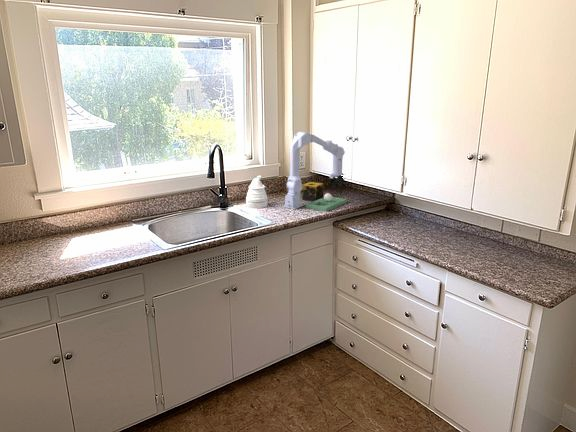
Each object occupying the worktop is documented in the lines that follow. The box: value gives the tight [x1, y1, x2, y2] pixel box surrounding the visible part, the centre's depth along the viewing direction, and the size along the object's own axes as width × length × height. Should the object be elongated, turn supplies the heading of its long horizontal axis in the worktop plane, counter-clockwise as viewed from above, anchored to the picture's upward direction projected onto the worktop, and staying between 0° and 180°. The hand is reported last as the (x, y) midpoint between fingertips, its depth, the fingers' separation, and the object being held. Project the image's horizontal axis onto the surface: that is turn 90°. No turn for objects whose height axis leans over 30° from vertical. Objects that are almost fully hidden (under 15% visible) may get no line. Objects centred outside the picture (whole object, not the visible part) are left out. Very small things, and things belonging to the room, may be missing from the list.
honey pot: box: [245, 175, 268, 209], centre depth 256 cm, size 13×13×18 cm
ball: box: [323, 192, 333, 201], centre depth 258 cm, size 5×5×5 cm
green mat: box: [305, 196, 348, 212], centre depth 258 cm, size 24×14×2 cm, turn 143°
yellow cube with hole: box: [301, 181, 324, 202], centre depth 270 cm, size 10×10×10 cm
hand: (336, 187), depth 265 cm, fingers open, 7 cm apart
